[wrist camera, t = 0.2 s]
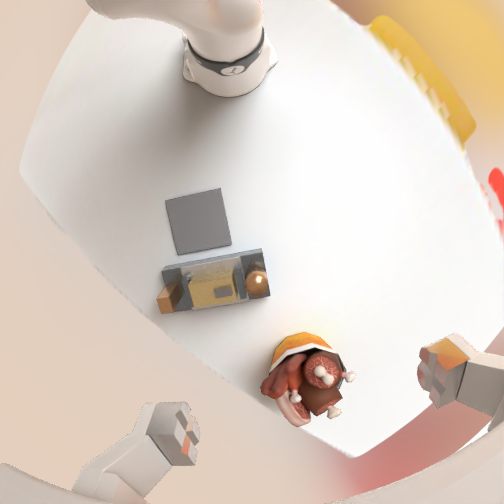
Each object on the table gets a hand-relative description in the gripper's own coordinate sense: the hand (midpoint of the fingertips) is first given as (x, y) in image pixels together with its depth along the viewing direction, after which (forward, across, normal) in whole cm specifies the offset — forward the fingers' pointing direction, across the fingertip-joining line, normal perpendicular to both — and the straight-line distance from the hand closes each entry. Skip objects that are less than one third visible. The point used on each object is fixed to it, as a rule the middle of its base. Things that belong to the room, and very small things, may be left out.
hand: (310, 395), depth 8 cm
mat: (+47, +12, -1) cm, 49 cm away
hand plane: (+47, +11, +11) cm, 50 cm away
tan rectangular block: (+44, +11, +11) cm, 46 cm away
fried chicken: (+48, -2, +32) cm, 57 cm away
